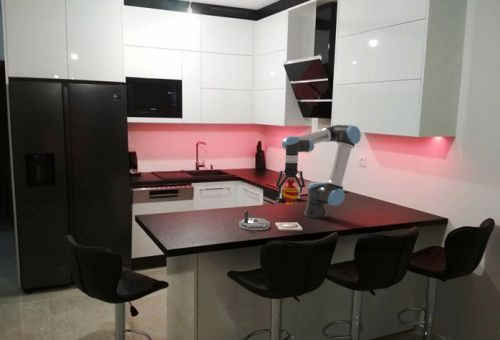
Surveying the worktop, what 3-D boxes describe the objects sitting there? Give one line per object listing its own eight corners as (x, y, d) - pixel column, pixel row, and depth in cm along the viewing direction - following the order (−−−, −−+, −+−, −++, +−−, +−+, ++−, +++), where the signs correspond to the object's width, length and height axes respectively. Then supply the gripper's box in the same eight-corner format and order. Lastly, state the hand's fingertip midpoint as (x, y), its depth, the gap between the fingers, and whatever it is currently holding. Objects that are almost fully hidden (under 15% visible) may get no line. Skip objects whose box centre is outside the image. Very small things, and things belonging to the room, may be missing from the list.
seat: (297, 224, 261) (297, 222, 261) (302, 230, 247) (302, 228, 247) (275, 224, 259) (275, 222, 259) (279, 230, 245) (279, 228, 245)
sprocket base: (267, 222, 263) (267, 220, 263) (272, 230, 244) (272, 229, 244) (237, 222, 260) (237, 220, 260) (240, 230, 242) (240, 229, 242)
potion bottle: (285, 201, 258) (286, 177, 256) (300, 203, 253) (302, 179, 251) (278, 203, 249) (279, 179, 247) (293, 206, 244) (294, 181, 242)
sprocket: (274, 225, 250) (275, 211, 249) (253, 229, 240) (253, 214, 238) (255, 219, 264) (256, 205, 263) (234, 222, 254) (234, 208, 253)
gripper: (308, 161, 253) (306, 197, 256) (271, 161, 250) (270, 196, 253) (311, 163, 246) (309, 199, 248) (273, 162, 243) (272, 199, 246)
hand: (289, 198), depth 251 cm, fingers closed on potion bottle, 10 cm apart
